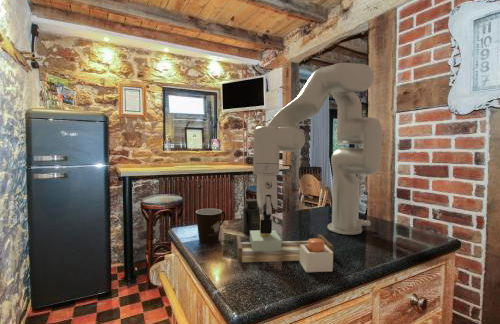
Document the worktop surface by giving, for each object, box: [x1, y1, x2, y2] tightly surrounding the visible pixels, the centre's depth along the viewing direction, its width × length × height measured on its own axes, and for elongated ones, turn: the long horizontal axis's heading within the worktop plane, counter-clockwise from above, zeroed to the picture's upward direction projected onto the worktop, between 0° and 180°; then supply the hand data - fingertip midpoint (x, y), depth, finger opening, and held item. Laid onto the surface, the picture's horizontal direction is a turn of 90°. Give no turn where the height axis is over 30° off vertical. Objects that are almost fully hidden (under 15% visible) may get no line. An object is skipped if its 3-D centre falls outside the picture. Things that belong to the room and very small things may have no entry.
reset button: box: [307, 238, 324, 252], centre depth 73 cm, size 4×4×3 cm
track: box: [236, 234, 334, 263], centre depth 82 cm, size 27×10×4 cm, turn 96°
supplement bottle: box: [242, 198, 260, 235], centre depth 102 cm, size 7×7×12 cm
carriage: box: [249, 214, 282, 251], centre depth 81 cm, size 8×9×9 cm
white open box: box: [299, 244, 334, 273], centre depth 73 cm, size 7×6×5 cm
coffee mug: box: [195, 207, 226, 245], centre depth 92 cm, size 12×9×10 cm
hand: (265, 230), depth 81 cm, fingers closed on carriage, 3 cm apart
